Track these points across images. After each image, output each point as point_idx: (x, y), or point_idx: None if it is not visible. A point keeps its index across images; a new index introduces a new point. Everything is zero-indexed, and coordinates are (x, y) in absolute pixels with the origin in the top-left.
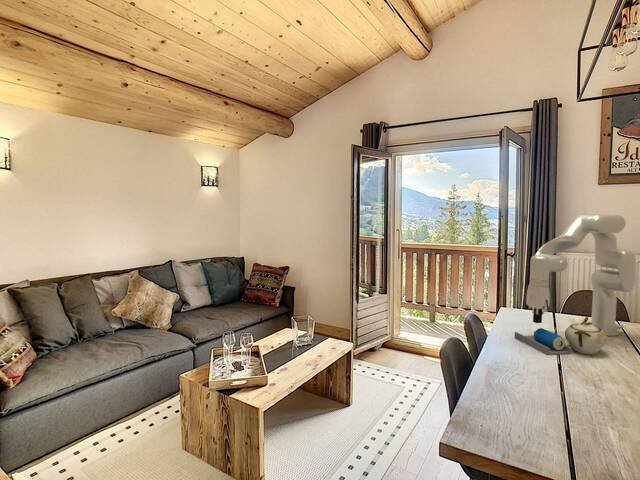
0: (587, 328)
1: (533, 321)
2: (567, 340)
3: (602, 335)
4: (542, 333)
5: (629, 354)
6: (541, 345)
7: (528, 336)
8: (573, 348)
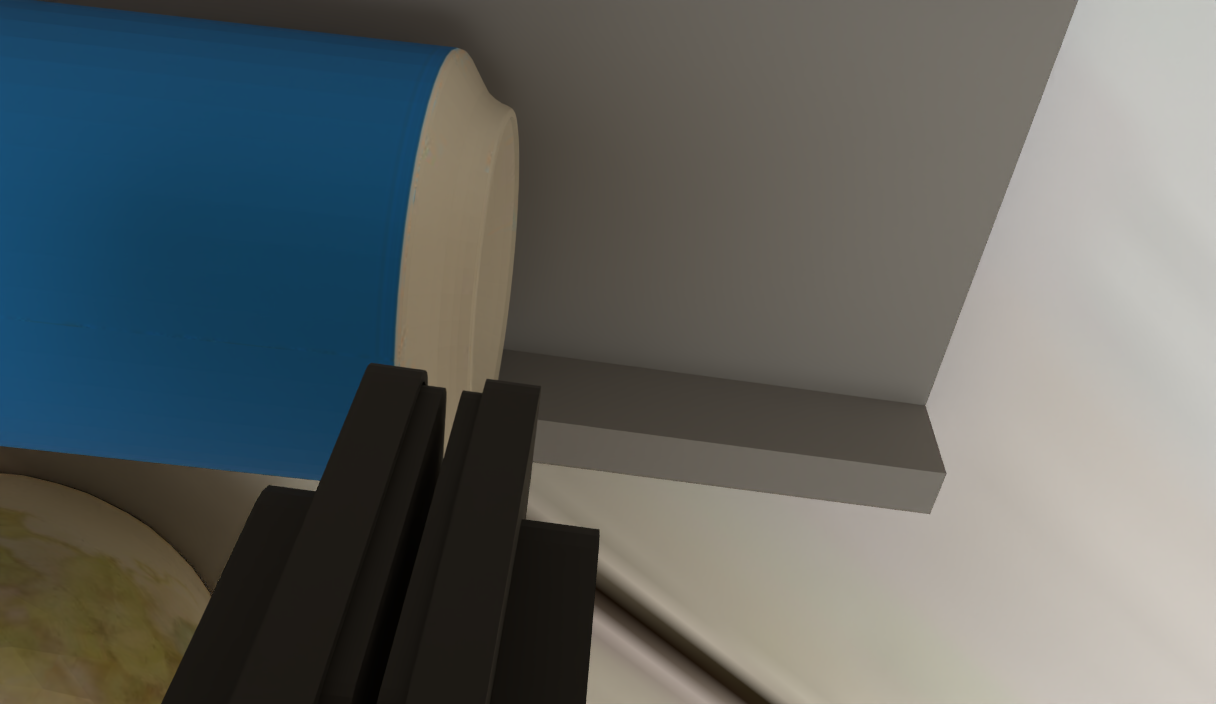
0: None
1: (500, 393)
2: (28, 542)
3: None
4: (67, 160)
5: None
6: None
7: (916, 231)
8: (59, 494)
